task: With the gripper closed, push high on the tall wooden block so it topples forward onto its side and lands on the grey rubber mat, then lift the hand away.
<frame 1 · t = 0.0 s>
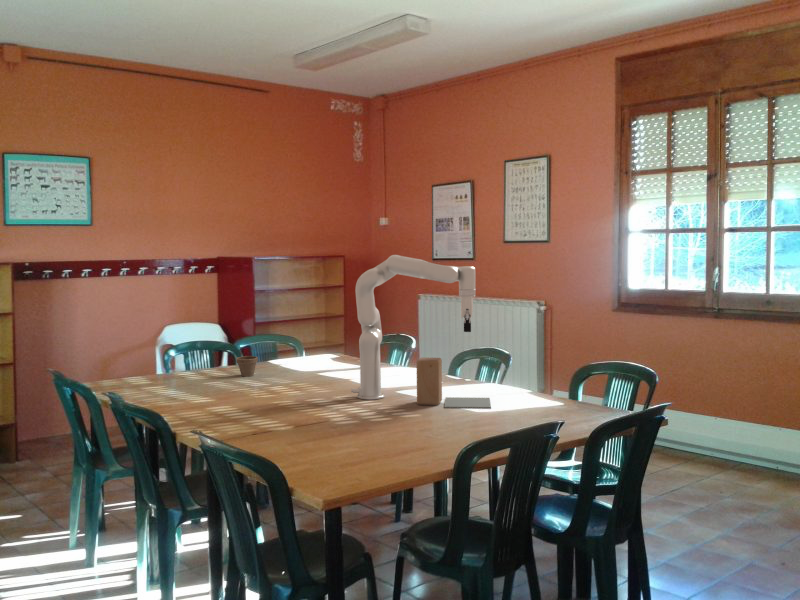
hand: (467, 330, 352), 31 cm above the table, fingers open, 9 cm apart
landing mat: (467, 403, 343), on the table
wooden block: (429, 403, 344), on the table
flower pot: (247, 376, 421), on the table
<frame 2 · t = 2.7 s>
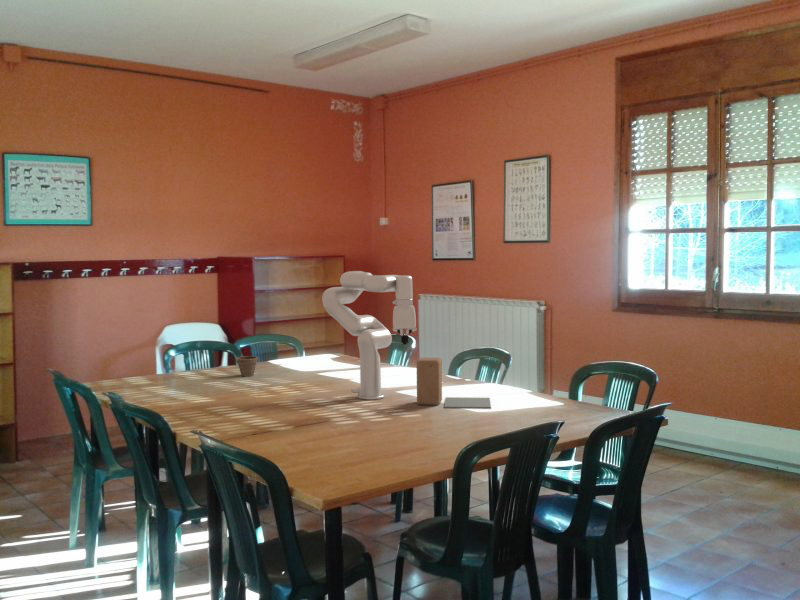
hand: (404, 344, 343), 27 cm above the table, fingers closed
nothing on the table moved.
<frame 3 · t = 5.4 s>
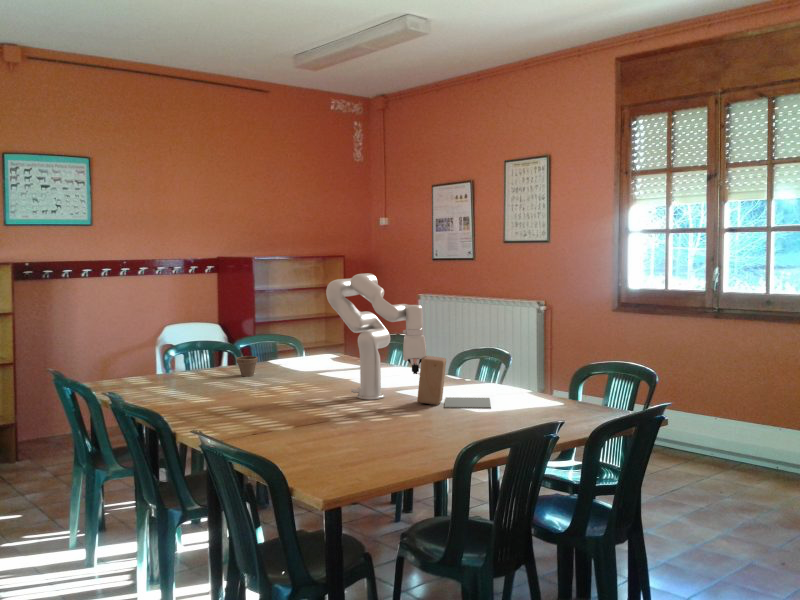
hand: (415, 373, 343), 13 cm above the table, fingers closed
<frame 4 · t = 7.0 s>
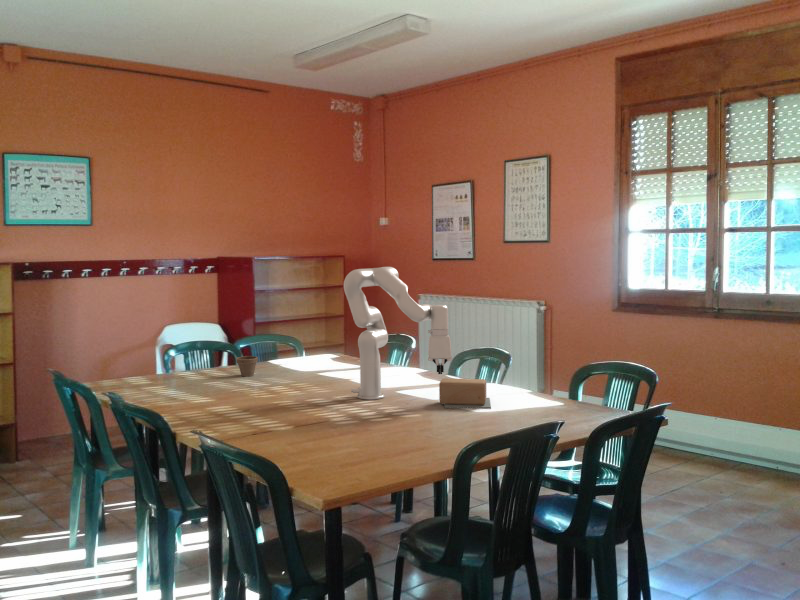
hand: (440, 373, 343), 13 cm above the table, fingers closed
wooden block: (440, 391, 343), point 6 cm above the table, touching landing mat
everything else where it was.
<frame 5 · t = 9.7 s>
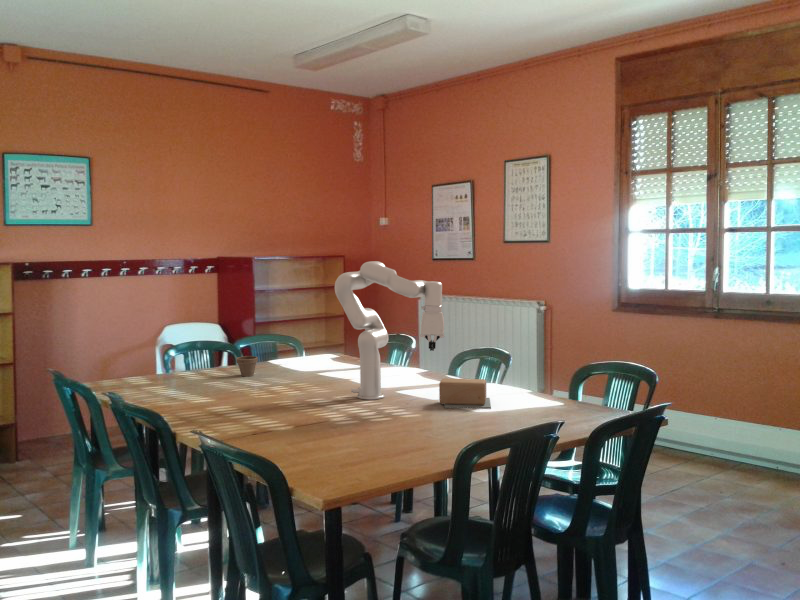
hand: (431, 350, 343), 24 cm above the table, fingers closed
nothing on the table moved.
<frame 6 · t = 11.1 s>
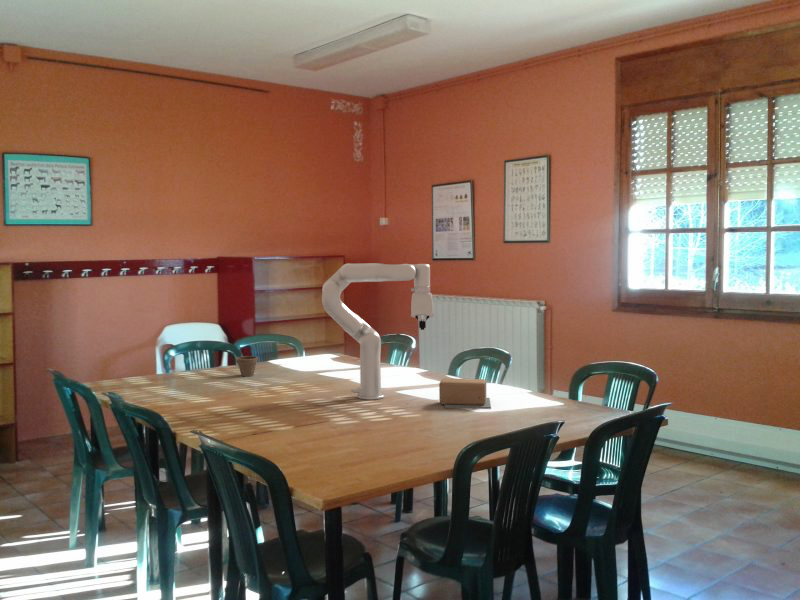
hand: (422, 329, 360), 31 cm above the table, fingers closed
nothing on the table moved.
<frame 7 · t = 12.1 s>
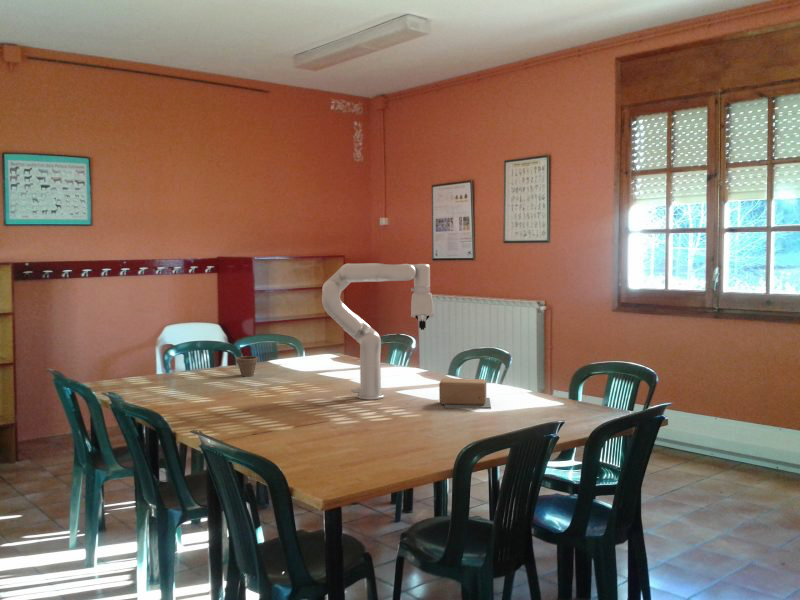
hand: (422, 329, 360), 31 cm above the table, fingers closed
nothing on the table moved.
at the end: wooden block tilted 90°; wooden block touching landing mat; wooden block inside the target area (5.7 cm from its centre), point 5.6 cm above the table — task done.
